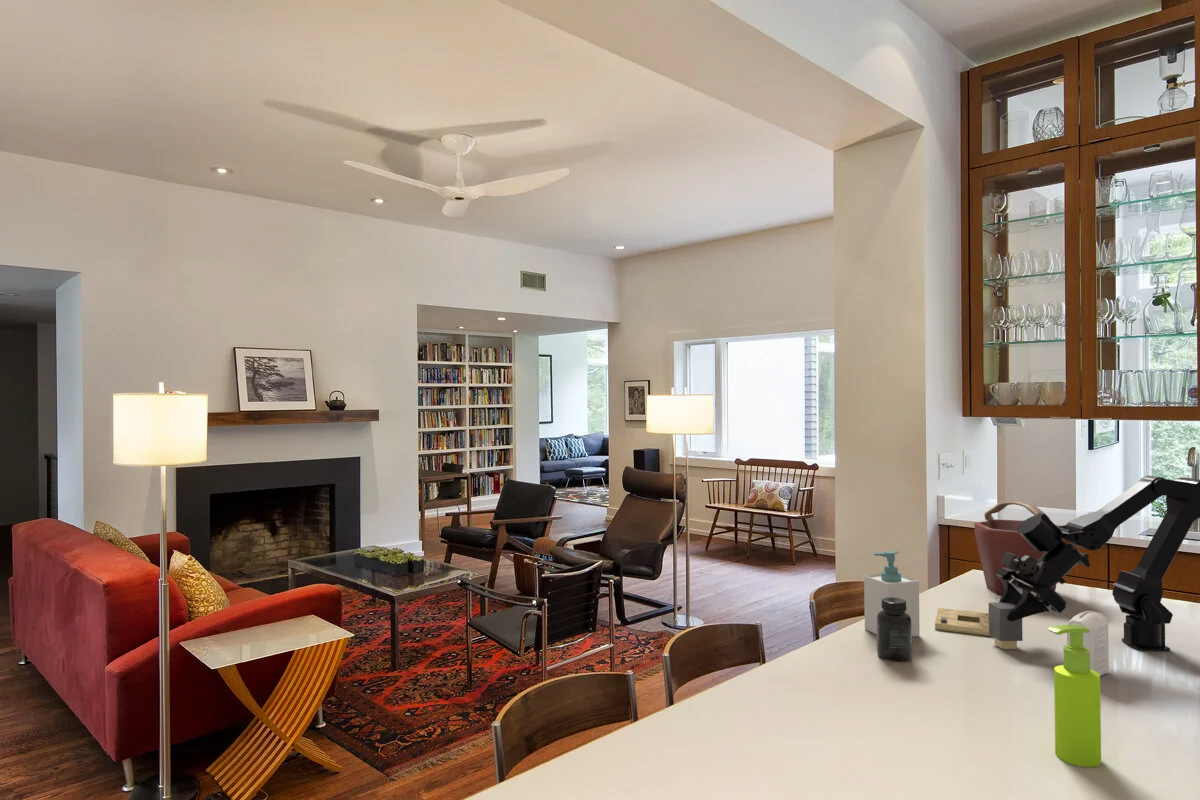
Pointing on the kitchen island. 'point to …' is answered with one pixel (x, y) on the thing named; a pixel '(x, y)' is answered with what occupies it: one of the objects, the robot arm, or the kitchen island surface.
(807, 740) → the kitchen island surface
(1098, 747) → the soap dispenser
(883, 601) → the supplement bottle
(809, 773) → the kitchen island surface
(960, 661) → the kitchen island surface
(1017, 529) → the robot arm
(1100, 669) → the photo printer
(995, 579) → the bucket
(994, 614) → the plug
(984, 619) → the socket
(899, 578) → the soap bottle
